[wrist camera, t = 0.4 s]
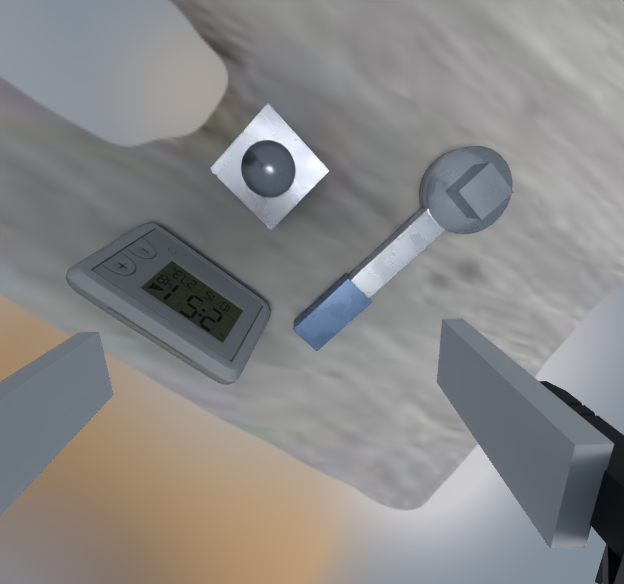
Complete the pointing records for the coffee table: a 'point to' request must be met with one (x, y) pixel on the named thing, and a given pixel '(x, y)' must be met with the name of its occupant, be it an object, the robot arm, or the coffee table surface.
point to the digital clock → (174, 300)
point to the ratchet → (417, 234)
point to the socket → (269, 167)
